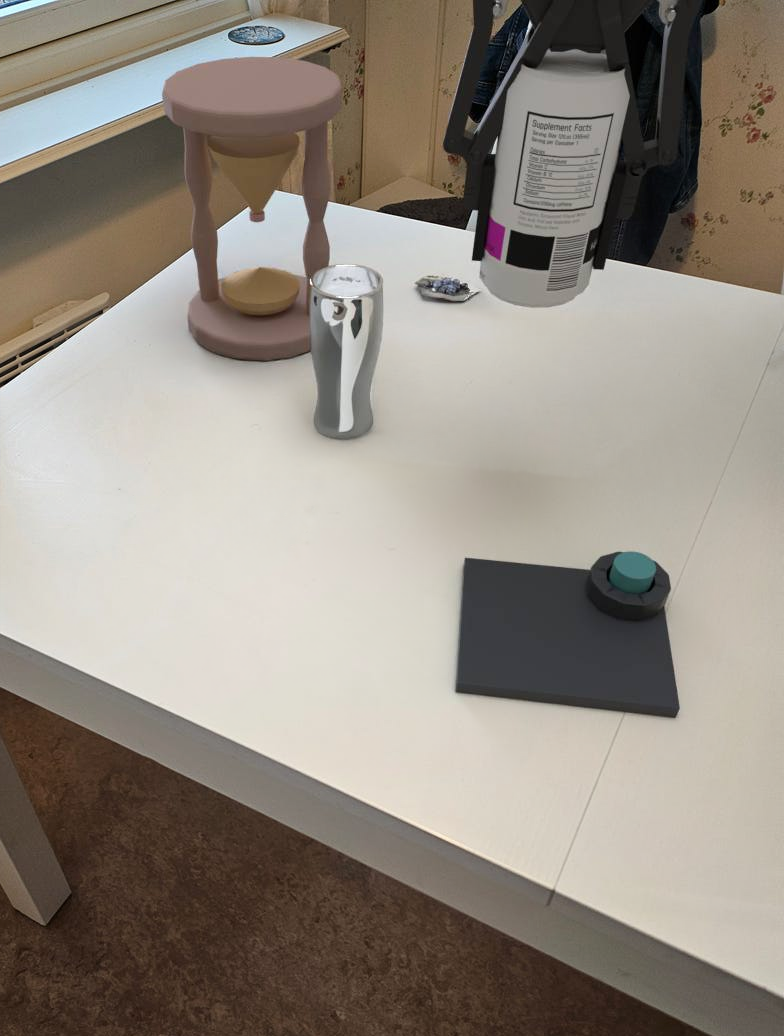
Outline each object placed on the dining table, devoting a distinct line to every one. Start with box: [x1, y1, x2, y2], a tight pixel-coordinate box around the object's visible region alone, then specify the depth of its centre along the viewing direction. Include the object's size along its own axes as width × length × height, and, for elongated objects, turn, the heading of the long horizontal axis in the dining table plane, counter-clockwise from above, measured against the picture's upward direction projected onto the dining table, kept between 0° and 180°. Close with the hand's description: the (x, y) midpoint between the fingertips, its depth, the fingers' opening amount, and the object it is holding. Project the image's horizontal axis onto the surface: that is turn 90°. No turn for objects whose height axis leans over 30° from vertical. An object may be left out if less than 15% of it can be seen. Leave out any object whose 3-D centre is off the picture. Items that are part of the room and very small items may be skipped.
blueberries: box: [414, 274, 474, 302], centre depth 110 cm, size 7×8×2 cm
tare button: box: [609, 551, 656, 594], centre depth 71 cm, size 3×3×2 cm
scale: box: [454, 551, 681, 719], centre depth 70 cm, size 16×15×3 cm
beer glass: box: [308, 263, 384, 440], centre depth 86 cm, size 7×7×15 cm
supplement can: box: [478, 48, 630, 309], centre depth 63 cm, size 8×8×15 cm
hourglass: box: [161, 56, 343, 361], centre depth 97 cm, size 18×18×25 cm
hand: (537, 256), depth 67 cm, fingers closed on supplement can, 8 cm apart
